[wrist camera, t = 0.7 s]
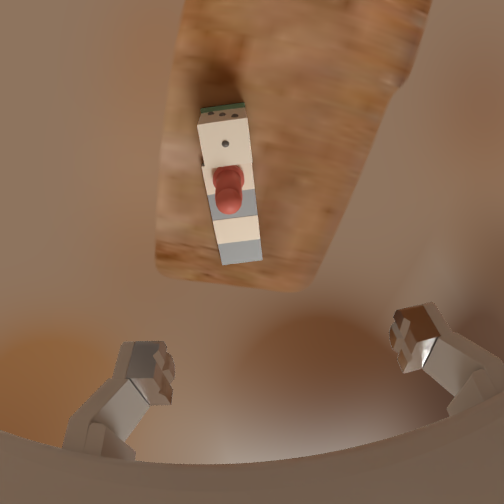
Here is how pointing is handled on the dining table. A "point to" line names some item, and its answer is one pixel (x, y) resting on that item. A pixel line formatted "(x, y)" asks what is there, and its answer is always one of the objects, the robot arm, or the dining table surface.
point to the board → (236, 221)
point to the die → (224, 138)
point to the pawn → (228, 188)
